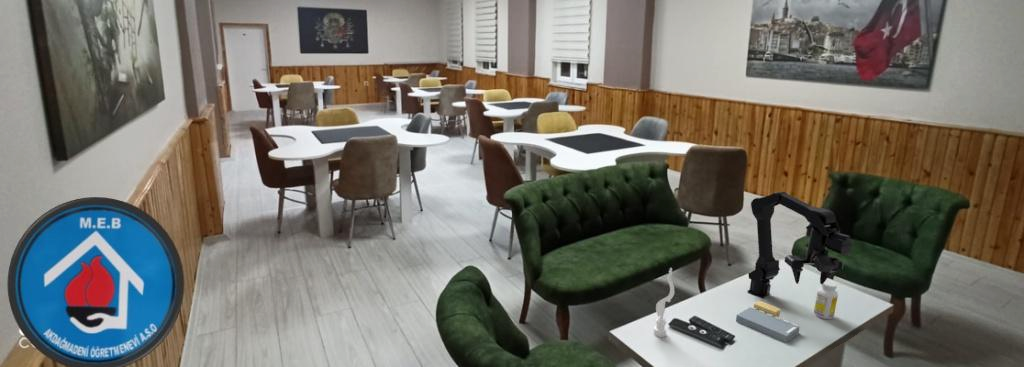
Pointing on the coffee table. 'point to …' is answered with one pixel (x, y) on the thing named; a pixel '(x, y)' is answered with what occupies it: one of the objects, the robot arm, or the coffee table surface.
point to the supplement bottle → (826, 301)
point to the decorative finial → (663, 309)
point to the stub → (767, 308)
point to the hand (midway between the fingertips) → (809, 283)
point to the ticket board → (768, 324)
